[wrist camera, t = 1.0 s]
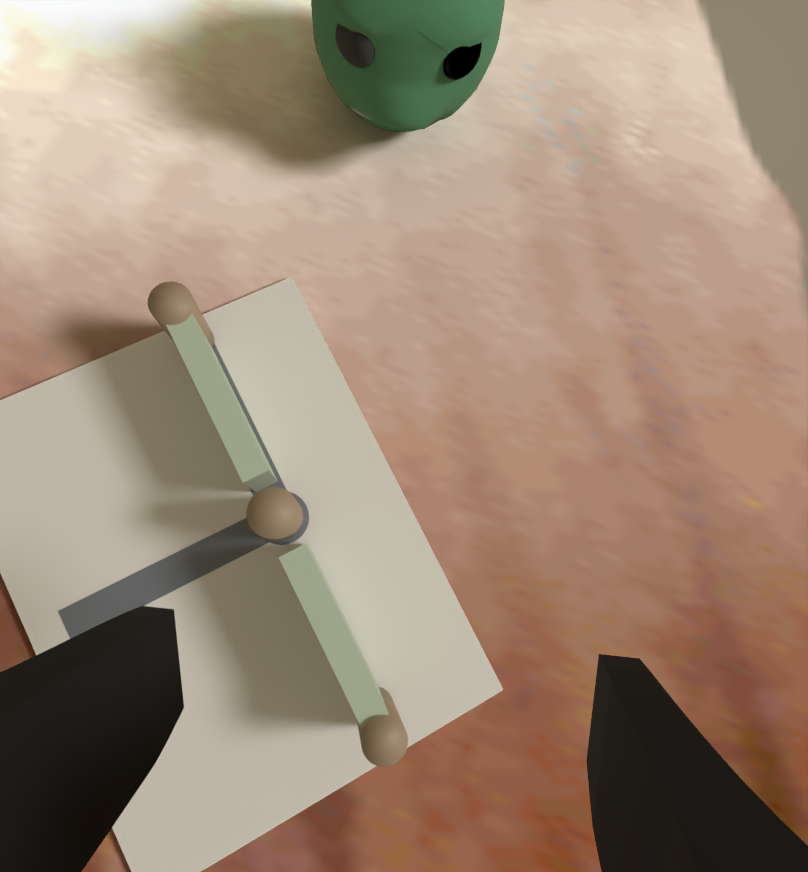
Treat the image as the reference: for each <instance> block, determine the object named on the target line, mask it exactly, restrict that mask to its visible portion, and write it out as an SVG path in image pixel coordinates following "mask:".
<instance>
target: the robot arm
mask: <svg viewBox="0 0 808 872" xmlns="http://www.w3.org/2000/svg"><path fill="white" fill-rule="evenodd" d="M183 709H184V701H183V692H182V682H181V673H180V663H179V653H178V644H177V634H176V624H175V615H174V609H167V608H157V607H148V606H140V607H138V608H135V609H133V610H130V611H128V612H125V613H123V614H121V615H119V616H116V617H114V618H112V619H110V620H108V621H106V622H104V623H101V624H99V625H97V626H95V627H93V628H91V629H89V630H87V631H85V632H83V633H81V634H79V635H77V636H75V637H73V638H71V639H69V640H67V641H65V642H63V643H61V644H59V645H57V646H55V647H52V648H50V649H48V650H46V651H44V652H42V653H40V654H38V655H36V656H34V657H32V658H30V659H28V660H26V661H24V662H22V663H20V664H18V665H16V666H14V667H11V668H9V669H7V670H5V671H3V672H0V872H81V871H82V870H83V868H84V867H85V866H86V864H87V863H88V861H89V860H90V858H91V857H92V855H93V854H94V853H95V851H96V850H97V848H98V847H99V845H100V844H101V842H102V841H103V840H104V838H105V837H106V835H107V834H108V832H109V831H110V829H111V828H112V827H113V825H114V824H115V822H116V821H117V819H118V818H119V816H120V815H121V814H122V812H123V811H124V809H125V808H126V806H127V805H128V803H129V802H130V800H131V799H132V797H133V796H134V794H135V793H136V792H137V790H138V789H139V787H140V786H141V784H142V783H143V781H144V780H145V778H146V777H147V775H148V774H149V772H150V771H151V769H152V768H153V766H154V765H155V763H156V761H157V759H158V758H159V756H160V754H161V752H162V750H163V748H164V746H165V745H166V743H167V741H168V739H169V737H170V735H171V733H172V731H173V729H174V727H175V725H176V723H177V721H178V719H179V717H180V715H181V713H182V711H183ZM587 770H588V781H589V793H590V803H591V813H592V823H593V830H594V835H595V841H596V846H597V851H598V856H599V861H600V866H601V871H602V872H808V846H807V845H806V844H805V843H804V842H803V841H802V840H801V839H800V838H799V837H798V836H797V835H796V834H795V833H794V832H793V831H792V830H791V829H790V828H789V827H787V826H786V825H785V824H784V823H783V822H782V821H781V820H780V819H779V818H778V817H777V816H776V814H775V813H774V812H773V811H772V810H771V809H770V808H769V807H768V806H767V805H766V804H765V803H764V802H763V801H762V800H761V799H760V798H759V797H758V796H757V795H756V794H755V793H754V792H753V791H752V790H751V789H750V788H749V787H748V786H747V785H746V784H745V783H744V782H743V780H742V779H741V778H740V777H739V776H738V775H737V774H736V773H735V772H734V771H733V770H732V768H731V767H730V766H729V765H728V764H727V763H726V762H725V760H724V759H723V758H722V757H721V756H720V755H719V754H718V752H717V751H716V750H715V749H714V748H713V747H712V746H711V745H710V743H709V742H708V741H707V740H706V739H705V738H704V737H703V735H702V734H701V733H700V732H699V731H698V729H697V728H696V727H695V726H694V725H693V724H692V722H691V721H690V720H689V719H688V717H687V716H686V715H685V714H684V713H683V711H682V710H681V709H680V708H679V707H678V705H677V704H676V703H675V702H674V700H673V699H672V698H671V697H670V695H669V694H668V693H667V692H666V690H665V689H664V688H663V687H662V685H661V684H660V683H659V682H658V680H657V679H656V678H655V677H654V675H653V674H652V673H651V672H650V671H649V669H648V668H647V667H646V666H645V665H644V663H643V662H642V661H641V660H640V659H639V658H629V657H620V656H611V655H601V654H599V659H598V667H597V676H596V685H595V693H594V702H593V710H592V719H591V728H590V736H589V745H588V753H587Z"/></svg>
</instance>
